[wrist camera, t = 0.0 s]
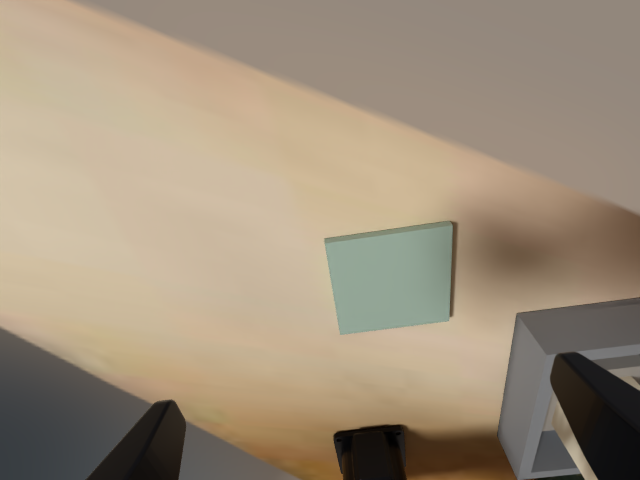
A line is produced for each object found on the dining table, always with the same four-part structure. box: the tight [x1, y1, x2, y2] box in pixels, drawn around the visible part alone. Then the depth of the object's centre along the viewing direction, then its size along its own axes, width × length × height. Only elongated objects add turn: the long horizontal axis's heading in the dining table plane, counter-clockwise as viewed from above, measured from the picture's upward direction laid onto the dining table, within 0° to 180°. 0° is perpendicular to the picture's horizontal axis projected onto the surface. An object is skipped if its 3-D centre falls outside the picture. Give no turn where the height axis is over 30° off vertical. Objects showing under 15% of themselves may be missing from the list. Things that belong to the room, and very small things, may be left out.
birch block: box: [551, 376, 640, 480], centre depth 26 cm, size 5×5×5 cm
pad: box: [325, 221, 453, 335], centre depth 25 cm, size 8×8×1 cm
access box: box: [497, 298, 640, 480], centre depth 29 cm, size 16×11×4 cm
